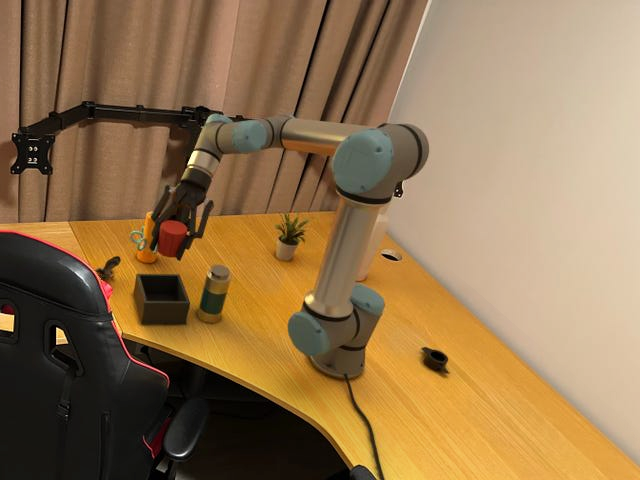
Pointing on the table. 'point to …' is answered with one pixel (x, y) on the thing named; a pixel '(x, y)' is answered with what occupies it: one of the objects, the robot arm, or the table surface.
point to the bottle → (374, 241)
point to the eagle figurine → (108, 268)
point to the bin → (161, 299)
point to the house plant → (289, 237)
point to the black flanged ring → (435, 359)
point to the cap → (171, 238)
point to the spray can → (214, 293)
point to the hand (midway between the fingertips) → (164, 254)
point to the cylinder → (145, 241)
